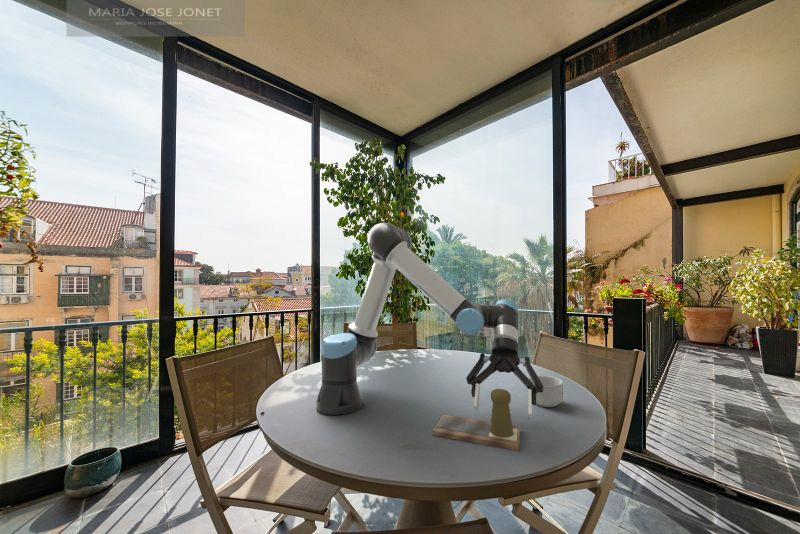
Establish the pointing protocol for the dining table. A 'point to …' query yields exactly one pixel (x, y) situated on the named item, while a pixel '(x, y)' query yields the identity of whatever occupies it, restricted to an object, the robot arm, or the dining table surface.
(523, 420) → the dining table surface
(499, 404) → the cork
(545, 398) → the teacup
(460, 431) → the brown frame
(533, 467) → the dining table surface
